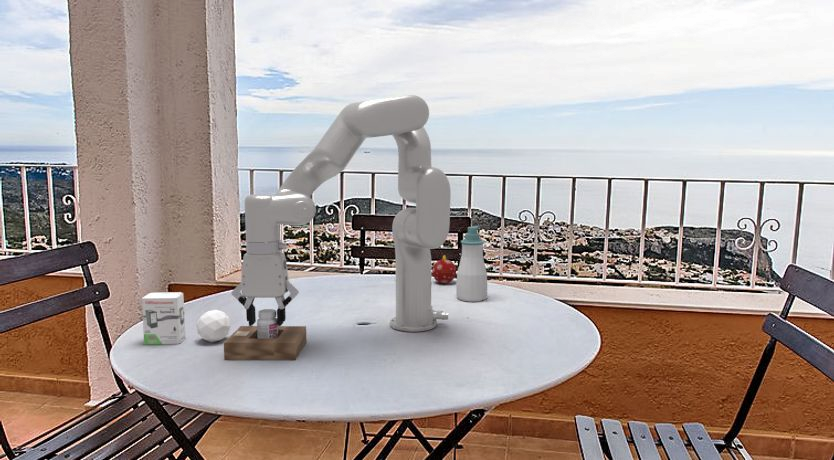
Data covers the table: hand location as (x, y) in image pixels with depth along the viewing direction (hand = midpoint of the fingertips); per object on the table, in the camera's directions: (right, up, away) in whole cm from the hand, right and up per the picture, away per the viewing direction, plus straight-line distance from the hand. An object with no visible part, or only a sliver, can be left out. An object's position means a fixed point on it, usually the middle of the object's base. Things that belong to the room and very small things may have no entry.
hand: (266, 323), depth 131 cm
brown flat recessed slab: (0, -6, +1) cm, 7 cm away
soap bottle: (+53, 0, +48) cm, 71 cm away
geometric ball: (-15, -6, +8) cm, 18 cm away
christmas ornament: (+45, +3, +69) cm, 82 cm away
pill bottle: (0, -6, +1) cm, 6 cm away
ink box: (-27, -6, +7) cm, 28 cm away
